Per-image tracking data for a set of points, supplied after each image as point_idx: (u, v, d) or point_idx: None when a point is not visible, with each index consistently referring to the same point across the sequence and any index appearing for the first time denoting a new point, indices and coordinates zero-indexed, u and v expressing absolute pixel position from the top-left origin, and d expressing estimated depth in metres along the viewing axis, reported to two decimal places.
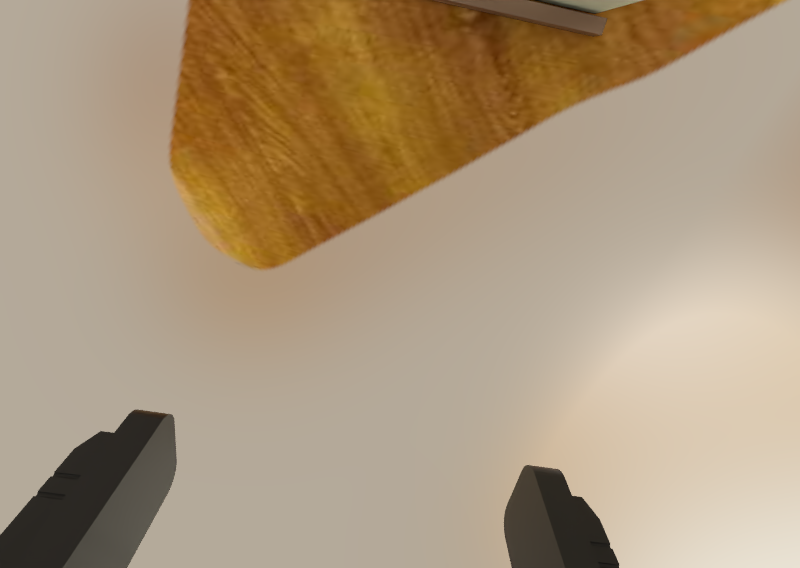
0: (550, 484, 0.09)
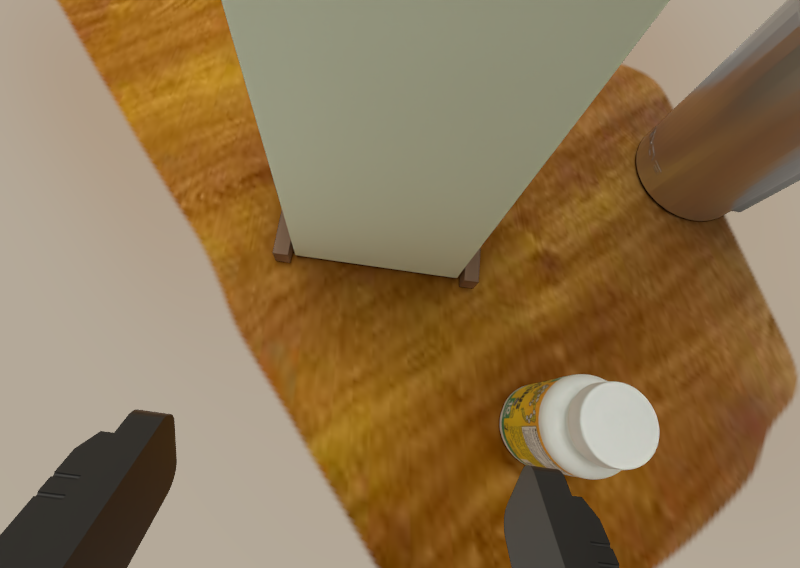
0: (550, 484, 0.09)
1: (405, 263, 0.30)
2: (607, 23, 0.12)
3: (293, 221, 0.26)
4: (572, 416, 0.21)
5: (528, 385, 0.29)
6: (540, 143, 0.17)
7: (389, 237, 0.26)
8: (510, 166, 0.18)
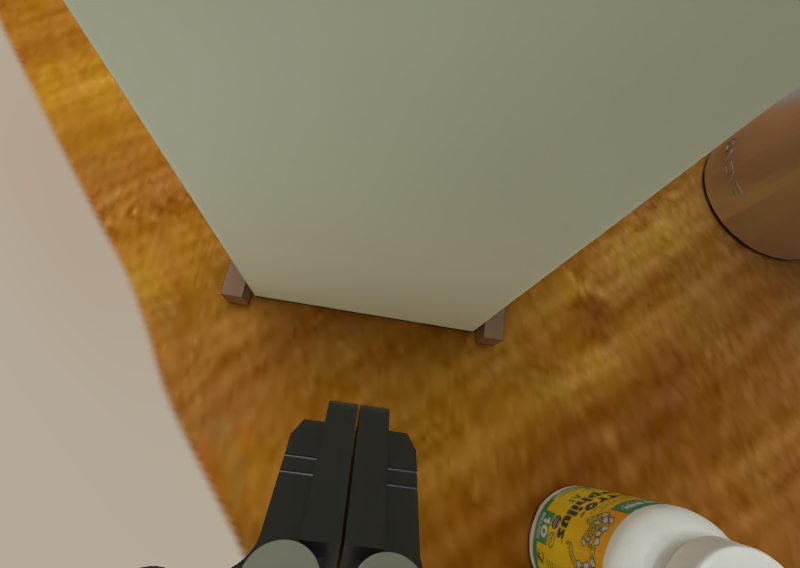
0: (371, 419, 0.10)
1: (403, 312, 0.22)
2: None
3: (240, 257, 0.18)
4: None
5: (571, 492, 0.20)
6: (667, 151, 0.09)
7: (380, 283, 0.18)
8: (593, 192, 0.10)
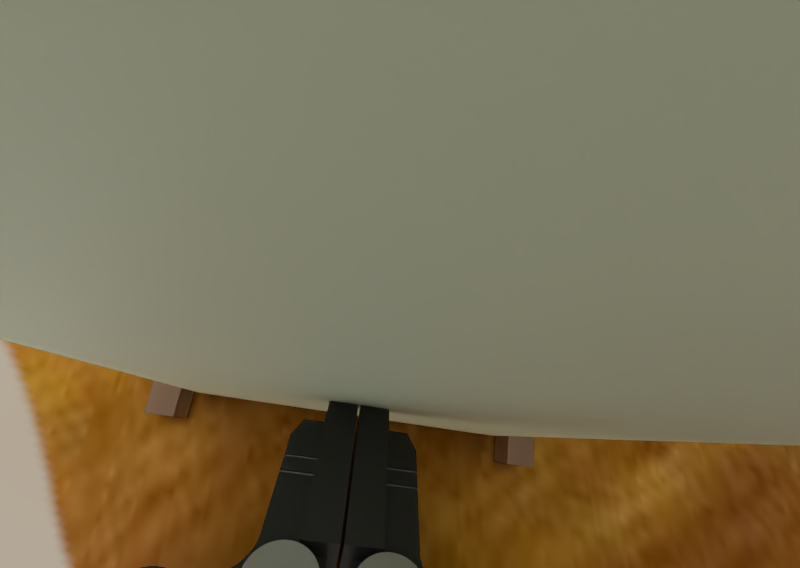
0: (372, 419, 0.10)
1: (399, 420, 0.16)
2: None
3: (154, 378, 0.12)
4: None
5: None
6: None
7: None
8: None
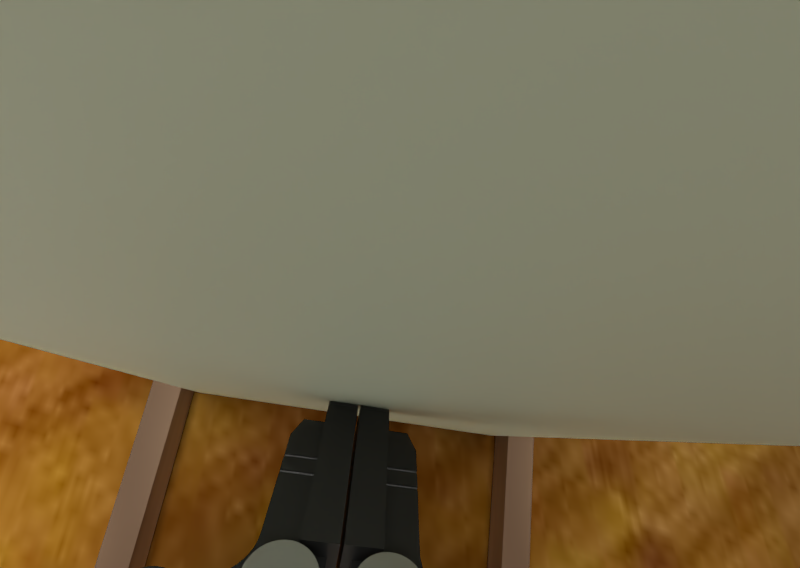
0: (371, 419, 0.10)
1: (399, 420, 0.16)
2: None
3: (154, 378, 0.12)
4: None
5: None
6: None
7: None
8: None
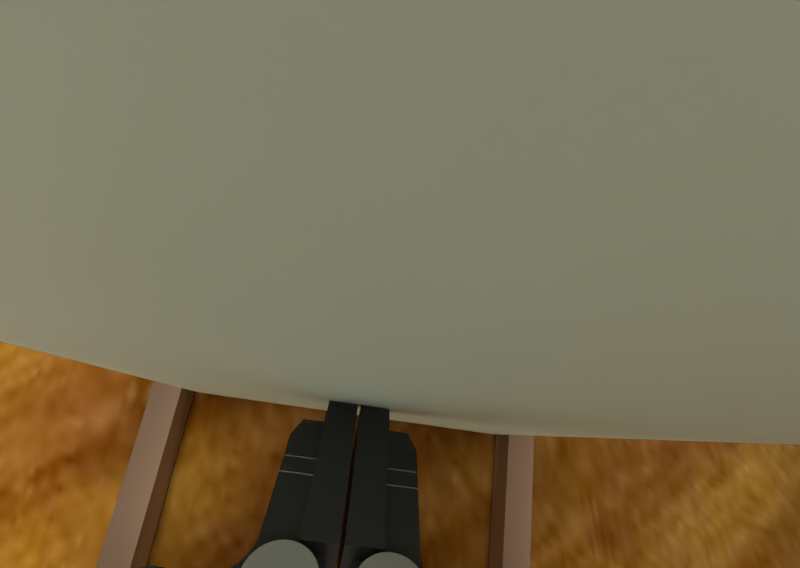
0: (372, 419, 0.10)
1: (400, 419, 0.16)
2: None
3: (154, 379, 0.12)
4: None
5: None
6: None
7: None
8: None
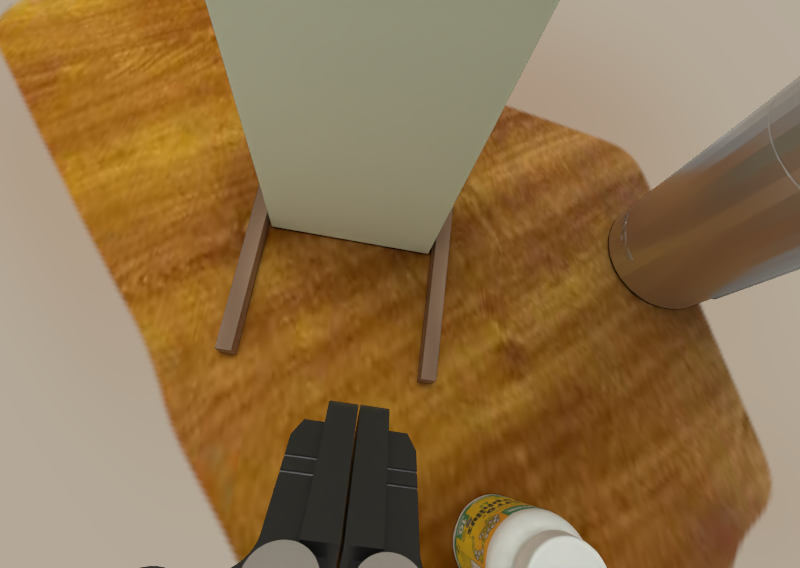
0: (371, 419, 0.10)
1: (377, 236, 0.31)
2: None
3: (267, 186, 0.27)
4: None
5: (484, 500, 0.27)
6: (489, 99, 0.18)
7: (360, 205, 0.28)
8: (465, 125, 0.20)
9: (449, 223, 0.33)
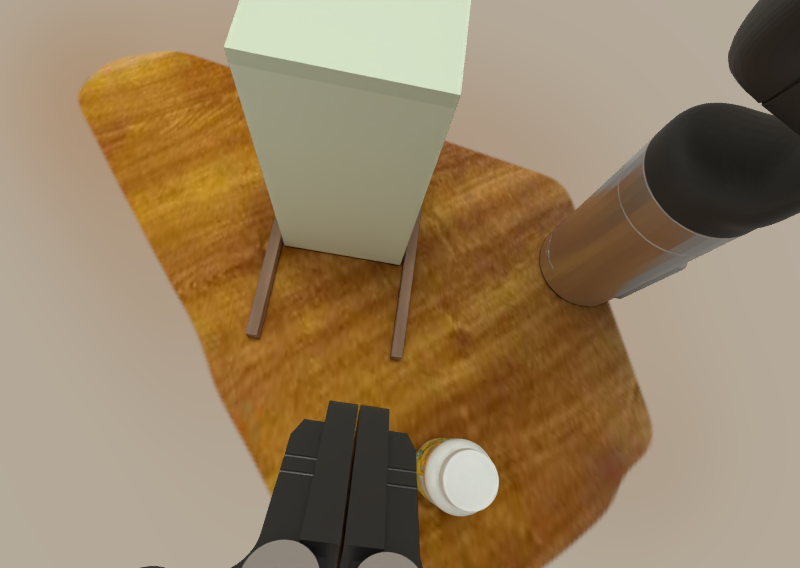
0: (371, 419, 0.10)
1: (361, 252, 0.43)
2: (428, 127, 0.24)
3: (282, 220, 0.38)
4: (440, 473, 0.31)
5: (433, 440, 0.38)
6: (420, 178, 0.29)
7: (347, 233, 0.39)
8: (408, 190, 0.31)
9: (415, 242, 0.44)
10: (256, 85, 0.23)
